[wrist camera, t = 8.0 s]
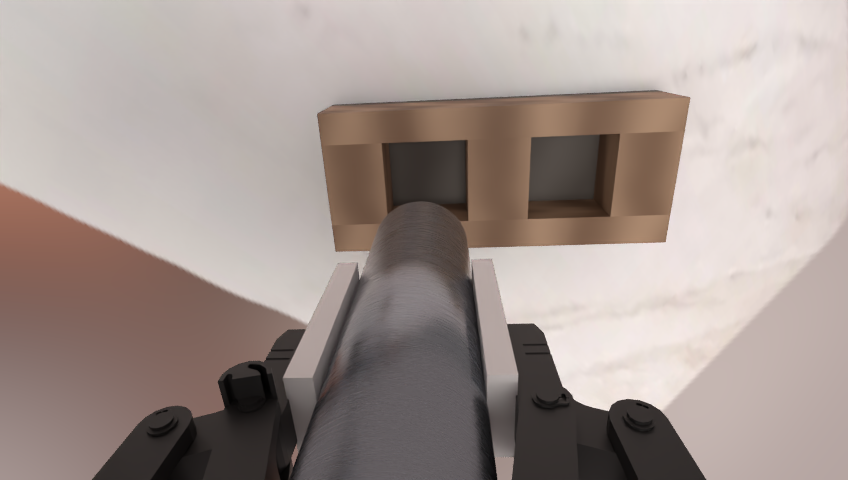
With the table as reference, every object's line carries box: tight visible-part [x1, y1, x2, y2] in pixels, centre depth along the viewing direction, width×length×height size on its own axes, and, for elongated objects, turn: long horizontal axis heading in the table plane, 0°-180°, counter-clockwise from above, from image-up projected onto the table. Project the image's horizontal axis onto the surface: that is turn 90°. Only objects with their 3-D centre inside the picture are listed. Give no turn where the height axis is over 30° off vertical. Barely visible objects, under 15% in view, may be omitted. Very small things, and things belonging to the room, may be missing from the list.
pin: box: [289, 201, 497, 480], centre depth 15 cm, size 4×4×16 cm
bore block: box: [317, 90, 690, 252], centre depth 34 cm, size 24×10×5 cm, turn 93°
